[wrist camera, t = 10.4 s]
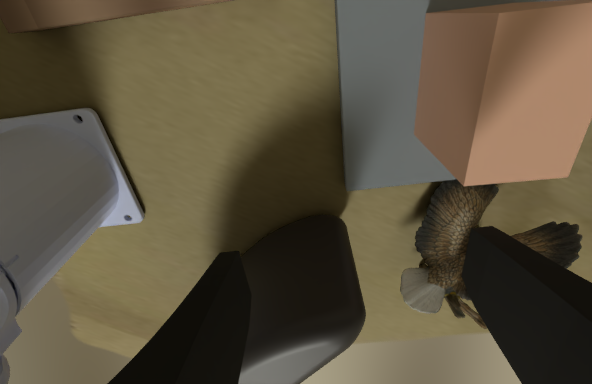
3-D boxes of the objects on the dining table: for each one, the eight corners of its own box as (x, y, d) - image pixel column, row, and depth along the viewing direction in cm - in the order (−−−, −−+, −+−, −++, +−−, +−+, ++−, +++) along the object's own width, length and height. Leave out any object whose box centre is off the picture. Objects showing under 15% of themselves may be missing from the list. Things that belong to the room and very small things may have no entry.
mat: (344, 183, 20) (346, 191, 19) (332, -42, 14) (334, -45, 13) (533, 162, 19) (544, 169, 18) (607, -86, 13) (629, -93, 12)
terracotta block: (413, 134, 17) (463, 186, 12) (425, 13, 14) (499, 13, 9) (485, 127, 17) (567, 177, 12) (513, 2, 14) (640, -4, 9)
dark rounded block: (297, 182, 20) (297, 297, 12) (349, 215, 22) (381, 338, 13) (190, 311, 27) (144, 441, 19) (235, 331, 28) (210, 459, 20)
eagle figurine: (492, 289, 24) (587, 209, 18) (478, 367, 19) (601, 293, 13) (403, 236, 26) (459, 150, 20) (369, 292, 21) (431, 201, 15)
